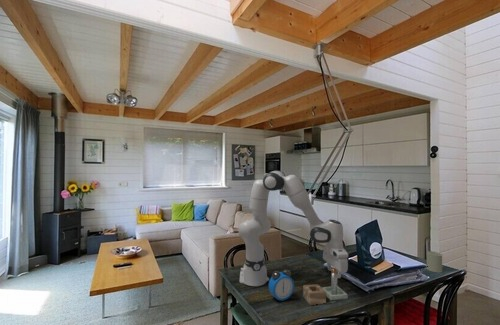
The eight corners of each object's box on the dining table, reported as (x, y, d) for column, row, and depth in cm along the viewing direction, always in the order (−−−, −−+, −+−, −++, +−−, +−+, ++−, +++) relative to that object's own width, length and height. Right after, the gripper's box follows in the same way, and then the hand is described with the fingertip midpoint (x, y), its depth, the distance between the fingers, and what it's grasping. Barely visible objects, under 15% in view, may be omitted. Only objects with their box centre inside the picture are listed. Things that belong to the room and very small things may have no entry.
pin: (330, 292, 142) (330, 268, 142) (335, 292, 143) (335, 267, 143) (333, 295, 139) (333, 270, 139) (338, 295, 139) (338, 270, 140)
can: (437, 267, 181) (437, 250, 181) (445, 273, 172) (445, 255, 172) (423, 266, 182) (423, 250, 182) (431, 272, 173) (431, 254, 173)
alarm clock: (273, 303, 131) (273, 274, 132) (267, 297, 137) (268, 270, 137) (294, 298, 137) (294, 271, 137) (288, 293, 142) (288, 266, 142)
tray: (321, 291, 145) (321, 287, 145) (337, 289, 147) (337, 285, 147) (330, 300, 135) (330, 296, 135) (347, 298, 137) (347, 294, 137)
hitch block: (302, 296, 139) (303, 285, 139) (317, 294, 141) (317, 284, 141) (310, 305, 130) (310, 293, 130) (325, 303, 132) (326, 292, 132)
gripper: (320, 243, 150) (319, 266, 150) (339, 256, 130) (338, 282, 130) (330, 243, 152) (329, 265, 152) (350, 255, 132) (349, 281, 132)
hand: (334, 273), depth 141 cm, fingers open, 8 cm apart
